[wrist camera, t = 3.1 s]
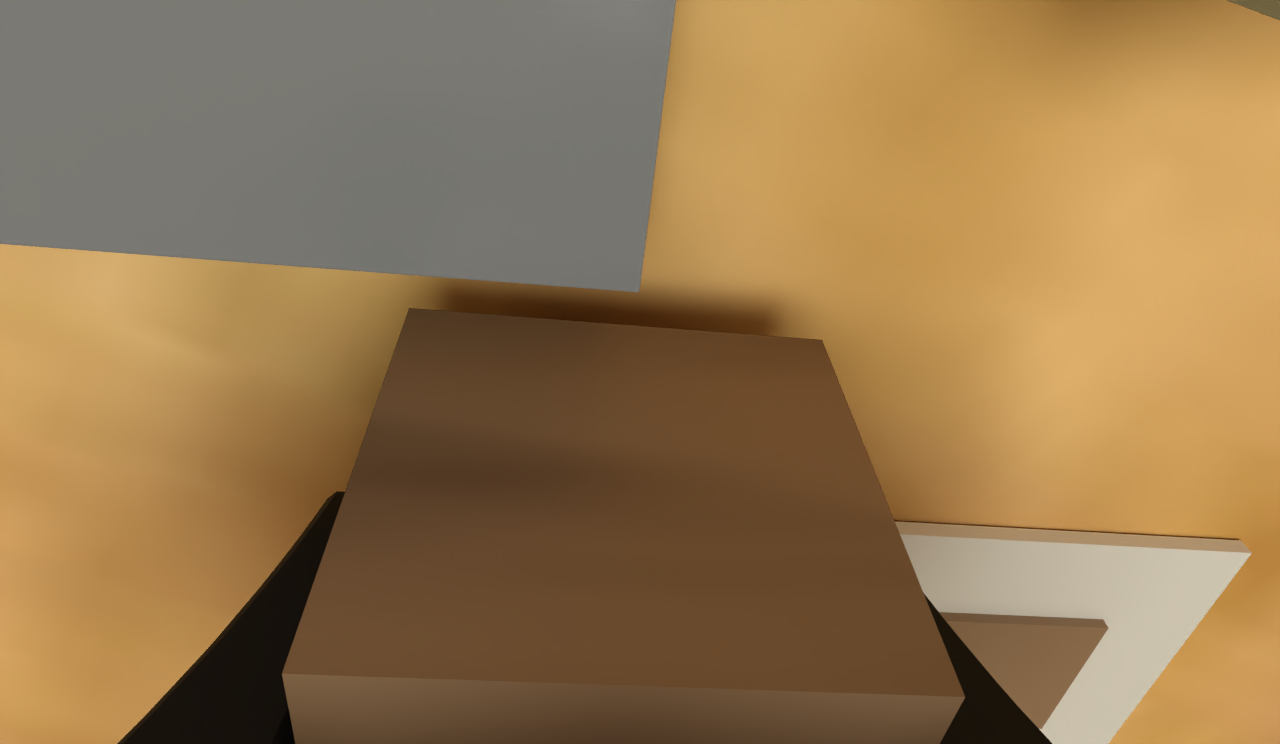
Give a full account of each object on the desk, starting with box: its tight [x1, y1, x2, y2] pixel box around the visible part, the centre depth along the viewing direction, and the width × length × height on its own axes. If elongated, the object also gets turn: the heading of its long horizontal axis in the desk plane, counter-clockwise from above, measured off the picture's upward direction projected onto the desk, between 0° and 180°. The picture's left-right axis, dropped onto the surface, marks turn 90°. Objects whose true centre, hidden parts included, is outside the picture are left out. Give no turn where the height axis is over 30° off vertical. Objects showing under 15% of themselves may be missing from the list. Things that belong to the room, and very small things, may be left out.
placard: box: [895, 521, 1251, 744], centre depth 17 cm, size 7×7×1 cm
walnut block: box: [282, 308, 965, 744], centre depth 10 cm, size 5×5×5 cm
